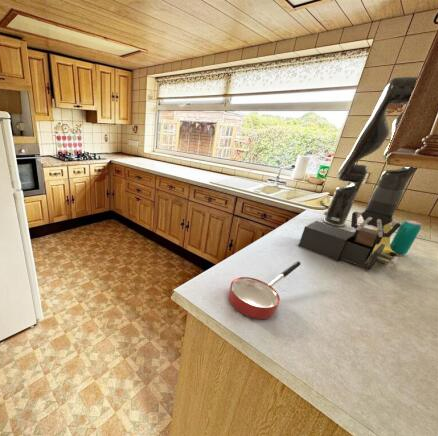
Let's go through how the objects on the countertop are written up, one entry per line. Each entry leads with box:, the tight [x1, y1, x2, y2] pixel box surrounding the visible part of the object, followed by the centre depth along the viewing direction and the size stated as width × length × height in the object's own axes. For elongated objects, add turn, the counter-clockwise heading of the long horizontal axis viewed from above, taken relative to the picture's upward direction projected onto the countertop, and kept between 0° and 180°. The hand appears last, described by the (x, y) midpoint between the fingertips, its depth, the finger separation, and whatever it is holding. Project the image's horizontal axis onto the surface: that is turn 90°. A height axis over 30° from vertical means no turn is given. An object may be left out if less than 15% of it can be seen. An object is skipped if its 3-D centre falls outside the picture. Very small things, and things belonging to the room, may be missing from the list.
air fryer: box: [298, 220, 355, 262], centre depth 101 cm, size 15×13×10 cm
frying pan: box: [228, 260, 301, 320], centre depth 73 cm, size 32×13×6 cm, turn 130°
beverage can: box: [390, 219, 423, 257], centre depth 100 cm, size 6×6×15 cm
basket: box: [339, 236, 399, 272], centre depth 91 cm, size 18×11×8 cm, turn 37°
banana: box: [371, 223, 399, 265], centre depth 95 cm, size 23×6×20 cm, turn 148°
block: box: [355, 226, 378, 247], centre depth 89 cm, size 5×5×5 cm
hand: (365, 241), depth 90 cm, fingers closed on block, 5 cm apart
